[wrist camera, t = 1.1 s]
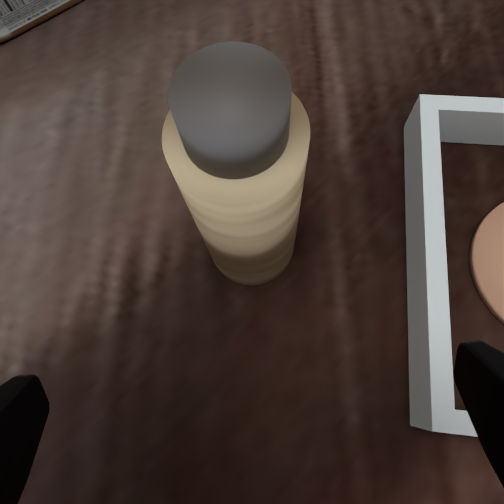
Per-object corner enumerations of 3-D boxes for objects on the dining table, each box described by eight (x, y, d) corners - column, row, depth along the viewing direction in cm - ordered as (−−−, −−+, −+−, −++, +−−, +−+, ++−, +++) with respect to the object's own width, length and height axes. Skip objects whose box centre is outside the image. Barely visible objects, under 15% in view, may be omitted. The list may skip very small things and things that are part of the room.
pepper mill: (290, 289, 23) (311, 171, 10) (204, 281, 23) (127, 159, 11) (296, 209, 24) (320, 27, 12) (216, 204, 25) (160, 21, 12)
